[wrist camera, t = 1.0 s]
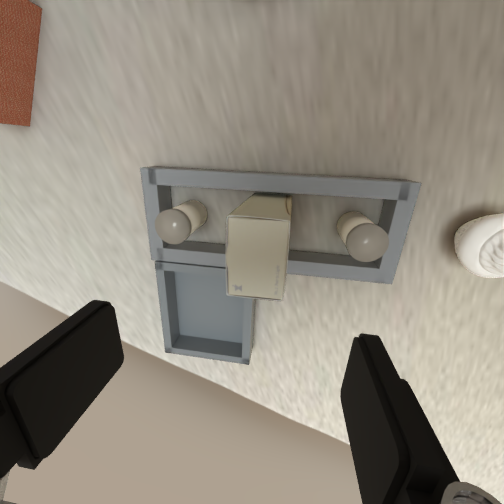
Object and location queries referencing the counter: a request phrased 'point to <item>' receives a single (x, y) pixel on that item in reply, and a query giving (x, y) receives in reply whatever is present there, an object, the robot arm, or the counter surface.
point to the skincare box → (258, 247)
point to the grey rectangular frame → (299, 262)
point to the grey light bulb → (180, 221)
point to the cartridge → (362, 237)
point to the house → (18, 59)
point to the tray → (203, 313)
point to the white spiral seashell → (482, 246)
